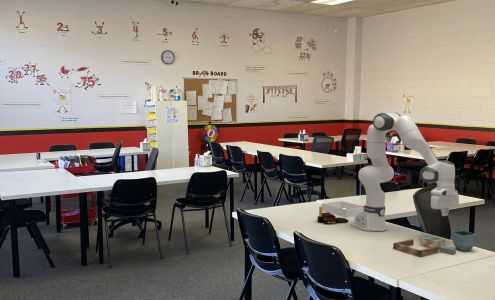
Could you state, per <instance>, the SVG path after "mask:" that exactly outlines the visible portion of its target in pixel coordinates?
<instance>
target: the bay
mask: <svg viewBox="0 0 495 300" xmlns="http://www.w3.org/2000/svg"><path fill="white" fill-rule="evenodd" d="M414 241H415V240H414V239H406V240H402V241H397V242H393V244H392V246H393V248H392V249H393V250H396V251H400V252H403V253H406V254H409V255H411V256H414V257H417V258H418V257H419V258H422V257H427V256H431V255H434V254H438V253H439V247H437V246H435V247H431V248H427V247H426V248H424V249H423V248H422V249H419V248H415V247H413V246H414Z"/></svg>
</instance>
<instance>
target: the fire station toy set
mask: <svg viewBox="0 0 495 300" xmlns="http://www.w3.org/2000/svg"><path fill="white" fill-rule="evenodd" d="M336 216H337V215H335V214H332V213H329V212H323V211H322V206H319V207H318V215H317V221H316V222H317V224H323V225H335V224H347V223H349V219H347V218H346V217H339V216H338V217H336Z"/></svg>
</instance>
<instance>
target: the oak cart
mask: <svg viewBox="0 0 495 300" xmlns="http://www.w3.org/2000/svg"><path fill="white" fill-rule="evenodd" d="M419 241H420V243H419V246H420V247H423V248H426V249H427V248H431V247H435V246H437V247H440V246H442V245H443V246H446V243H447V241H446V240H445V239H443V238H440V237H435V236H430V235H427V236H424V237H421V238H420V239H419Z"/></svg>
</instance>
